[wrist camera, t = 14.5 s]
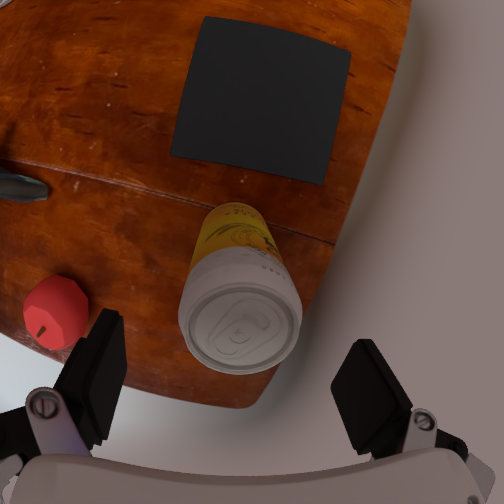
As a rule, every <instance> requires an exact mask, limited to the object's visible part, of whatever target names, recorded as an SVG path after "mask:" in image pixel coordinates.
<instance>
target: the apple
mask: <svg viewBox="0 0 504 504" xmlns="http://www.w3.org/2000/svg"><path fill="white" fill-rule="evenodd" d="M23 314H24V319H25V323H26V328H27V330H28V331H29V332H30V334H31V335H32V336H33V337H34V338H35V339H36V341H37V342H38V343H39V344H40V345H43V346H45V347H47V348H50V349H52V350H55V351H56V350H63V349H65V348H66V347H68V346H70V345H72V344H73V343H75V342H76V341H78V340H79V338H81V337H82V336H83V335H84V332H85V328H86V325H87V322H88V318H89V310H88V298H87V297H86V295H85V294H84V293H83V292H82V290H81V289H80V288H79V286H78V285H77V284H76V282H75V281H74V280H72V279H69V278H66V277H62V276H59V275H56V274H55V275H53V276H51V277H49V278H47V279H44V280H42V281H41V282H40V283H39V284H37V285H36V286H35V287H34V288H33V289H32V290H31V291H30V292H29V293H28V295H27V297H26V298H25V300H24V304H23Z"/></svg>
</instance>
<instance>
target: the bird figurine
mask: <svg viewBox="0 0 504 504" xmlns="http://www.w3.org/2000/svg"><path fill="white" fill-rule="evenodd" d="M47 188H48V187H47V185H46V184H45V183H43V182H41V181H38V180H35V179H32V178H29V177H24V176H22V175H17V174H13V173H11V172H9V171H7V170H5V169H4V168H2V167H1V166H0V198H5V199H8V200H13V201H17V202H22V203H28V202H29V203H30V202H32V201H33V200H46V199H47V196H48V189H47Z"/></svg>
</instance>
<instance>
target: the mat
mask: <svg viewBox="0 0 504 504" xmlns="http://www.w3.org/2000/svg"><path fill="white" fill-rule="evenodd" d="M350 58H351V52H349V51H347V50H344V49H342V48H339V47H337V46H334V45H331V44H328V43H325V42H322V41H319V40H316V39H313V38H310V37H307V36H304V35H300V34H297V33H293V32H289V31H286V30H282V29H278V28H274V27H269V26H265V25H260V24H255V23H250V22H244V21H238V20H232V19H225V18H217V17H208V16H205V17H204V20H203V23H202V26H201V29H200V33H199V36H198V39H197V42H196V46H195V49H194V52H193V56H192V60H191V63H190V67H189V71H188V74H187V78H186V82H185V86H184V90H183V95H182V99H181V103H180V108H179V112H178V117H177V122H176V126H175V131H174V137H173V142H172V147H171V153H170V156H175V157H182V158H189V159H195V160H201V161H208V162H214V163H219V164H225V165H230V166H236V167H241V168H246V169H251V170H256V171H261V172H266V173H270V174H275V175H279V176H284V177H288V178H293V179H297V180H301V181H305V182H309V183H313V184H317V185H321V186H323V182H324V178H325V174H326V170H327V166H328V162H329V158H330V154H331V150H332V145H333V141H334V137H335V132H336V128H337V123H338V119H339V114H340V109H341V105H342V100H343V95H344V90H345V85H346V80H347V74H348V69H349V64H350Z"/></svg>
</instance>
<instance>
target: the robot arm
mask: <svg viewBox="0 0 504 504" xmlns="http://www.w3.org/2000/svg"><path fill="white" fill-rule="evenodd" d="M11 1H12V0H0V8H1V7H3V6H5V5H6V4H8V3H10V2H11ZM126 371H127V359H126V349H125V338H124V323H123V316H120V315H119V312H118V311H115V310H110V309H106V308H104V309H103V310H102V312H101V313H100V315H99V317H98V318H97V320H96V322H95V324H94V326H93V327H92V329H91V331H90V333H89V335H88V336H87V338H83V337H81V338H79V340H78V341H77V343H76V345H75V347H74V348H73V350H72V352H71V354H70V356H69V358H68V359H67V361H66V363H65V365H64V367H63V369H62V371H61V373H60V375H59V377H58V379H57V381H56V383H55V385H54V387H53V389H52V388H50V387H39V388H36V389H34V390H33V391H31V392H30V393H29V395H28V396H27V398H26V402H25V406H23V407H20V408H17V409H14V410H10V411H7V412H4V413H0V504H5V502H4V501H3V497H2V491H3V489H4V487H5V486H6V485H7V484H9V479H10V478H12V477H13V476H14V475H16V476H19V477H18V479H17V481H16V484H15V487H14V490H13V493H12V497H11V500H10V504H485V503H486V501H487V499H488V496H489V494H490V492H491V489H492V486H493V484H494V481H495V474H494V472H493V470H492V469H491V468H490V467H488V466H487V465H485V464H484V463H483V462H482V461H481V460H479V459H478V458H477V457H475V456H474V455H473V454H472V453H469V454H468V448H467V446H466V444H465V442H463V440H461V439H460V438H457V437H455V436H453V435H451V434H448V433H446V432H444V431H442V430H440V429H437V421H436V418H435V417H434V415H433V414H432V413H431V412H429V411H428V410H426V409H421V408H420V409H419V408H418V409H415V410H414V411H413V412H411V410H410V409H411V408H412V407H413V405H412V403H411V401H410V399H409V398H408V396H407V394H406V393H405V391H404V389H403V388H402V386H401V385H400V383H399V381H398V380H397V379H396V376H395V375H394V373H393V372H392V370H391V369H390V367H389V365H388V364H387V362H386V360H385V359H384V357H383V356H382V354H381V353H380V351H379V350H378V348H377V346H376V345H375V343H374V342H373V341H372V340H371V339H358V340H357V341H356V342H355V343H353V345H352V347H351V349H350V351H349V353H348V355H347V356H346V358H345V360H344V362H343V364H342V366H341V367H340V369H339V371H338V373H337V375H336V376H335V378H334V380H333V381H332V383H331V392H332V395H333V397H334V400H335V403H336V405H337V407H338V410H339V413H340V415H341V418H342V421H343V423H344V426H345V428H346V431H347V434H348V436H349V439H350V442H351V444H352V447H353V449H354V450H356V451H357V454H358V455H363V454H367V453H369V452H371V454H372V456H371V458H370V461H369V462H365V463H360V464H356V465H351V466H346V467H341V468H335V469H329V470H322V471H315V472H307V473H298V474H287V475H274V476H273V475H272V476H216V475H200V474H190V473H181V472H172V471H165V470H158V469H152V468H146V467H141V466H135V465H130V464H126V463H121V462H116V461H111V460H106V459H102V458H96V457H93V456H92V454H91V452H90V450H92V449H93V445H94V444H96V445H99V446H101V444H102V440H107V439H108V435H109V431H110V427H111V423H112V420H113V416H114V412H115V408H116V405H117V402H118V398H119V395H120V391H121V388H122V385H123V382H124V378H125V375H126Z"/></svg>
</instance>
